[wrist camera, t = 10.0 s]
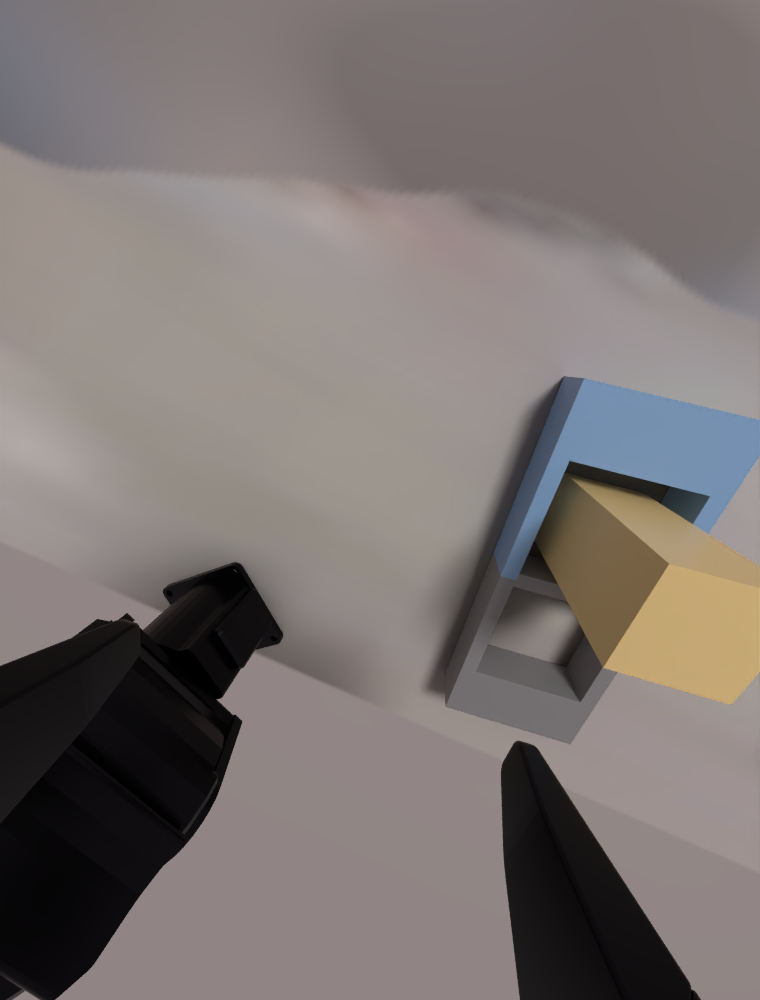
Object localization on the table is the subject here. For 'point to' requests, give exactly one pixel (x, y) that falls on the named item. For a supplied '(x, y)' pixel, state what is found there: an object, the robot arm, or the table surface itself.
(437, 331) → the table surface
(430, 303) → the table surface
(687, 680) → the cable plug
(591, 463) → the duct block
